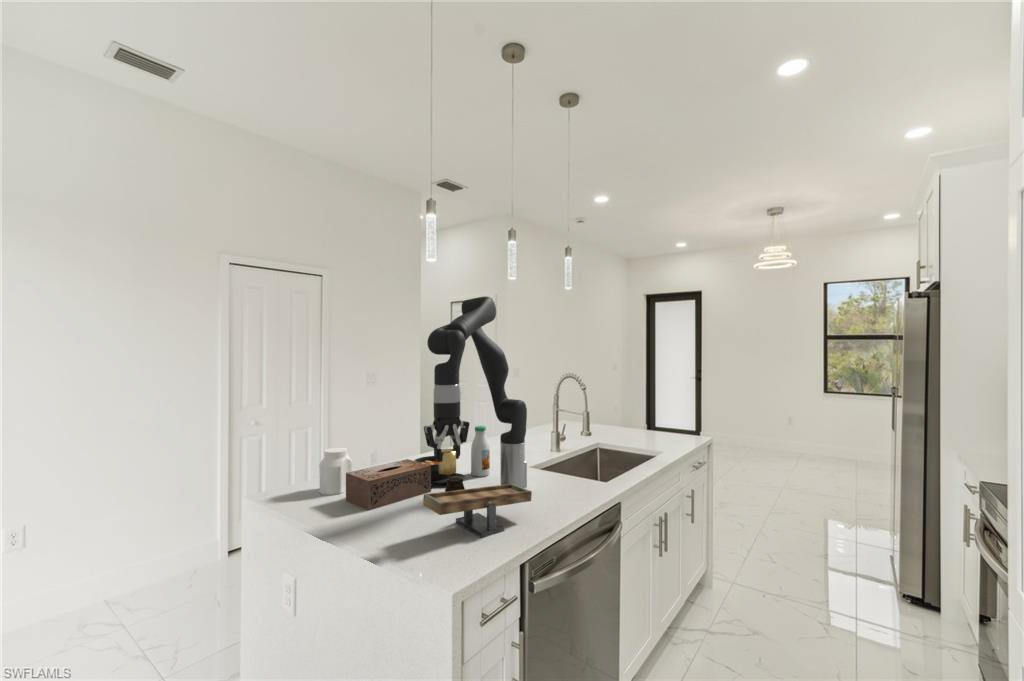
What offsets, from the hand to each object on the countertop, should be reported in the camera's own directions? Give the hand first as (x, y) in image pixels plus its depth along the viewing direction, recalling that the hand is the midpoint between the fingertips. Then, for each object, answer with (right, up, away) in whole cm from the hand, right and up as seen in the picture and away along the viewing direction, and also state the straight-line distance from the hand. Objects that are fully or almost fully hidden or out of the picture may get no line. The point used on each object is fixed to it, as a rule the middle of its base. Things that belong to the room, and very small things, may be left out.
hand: (447, 459), depth 132 cm
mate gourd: (-2, -22, +29) cm, 36 cm away
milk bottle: (+5, -22, +62) cm, 66 cm away
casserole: (-13, -22, +53) cm, 59 cm away
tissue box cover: (-25, -22, +34) cm, 48 cm away
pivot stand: (+9, -22, +6) cm, 24 cm away
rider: (0, -4, 0) cm, 3 cm away
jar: (-47, -22, +41) cm, 67 cm away
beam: (+9, -14, +6) cm, 17 cm away
